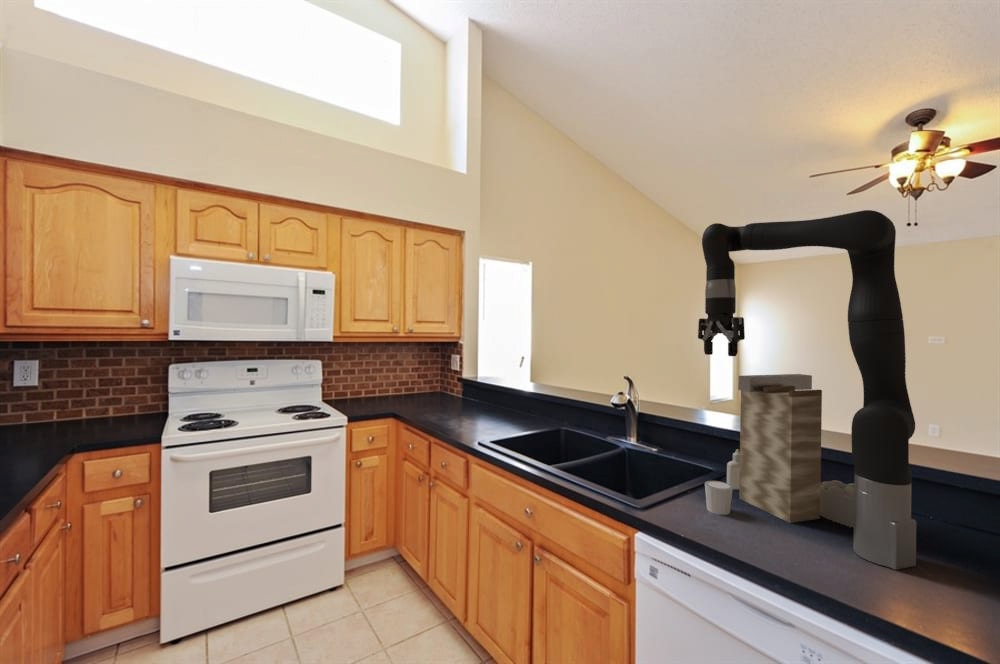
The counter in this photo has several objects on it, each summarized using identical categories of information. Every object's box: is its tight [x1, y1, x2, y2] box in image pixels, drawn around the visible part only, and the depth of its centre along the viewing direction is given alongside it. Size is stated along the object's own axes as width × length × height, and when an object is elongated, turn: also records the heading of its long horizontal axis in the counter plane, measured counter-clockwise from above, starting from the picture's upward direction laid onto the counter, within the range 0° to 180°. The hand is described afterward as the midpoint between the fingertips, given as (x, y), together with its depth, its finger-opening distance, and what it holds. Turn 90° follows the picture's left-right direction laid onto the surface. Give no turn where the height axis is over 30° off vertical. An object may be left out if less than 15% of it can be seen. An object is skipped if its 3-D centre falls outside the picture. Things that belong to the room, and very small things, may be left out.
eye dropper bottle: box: [726, 448, 740, 491], centre depth 133 cm, size 4×6×12 cm
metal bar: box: [737, 373, 813, 392], centre depth 123 cm, size 4×22×4 cm, turn 106°
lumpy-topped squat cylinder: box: [820, 479, 855, 529], centre depth 113 cm, size 10×13×9 cm
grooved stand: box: [738, 386, 823, 524], centre depth 118 cm, size 16×10×34 cm, turn 16°
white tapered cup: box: [704, 480, 734, 516], centre depth 117 cm, size 7×7×7 cm
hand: (720, 355), depth 120 cm, fingers open, 8 cm apart
